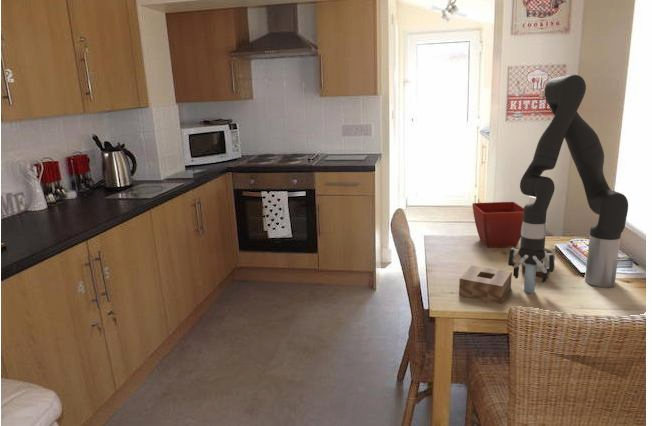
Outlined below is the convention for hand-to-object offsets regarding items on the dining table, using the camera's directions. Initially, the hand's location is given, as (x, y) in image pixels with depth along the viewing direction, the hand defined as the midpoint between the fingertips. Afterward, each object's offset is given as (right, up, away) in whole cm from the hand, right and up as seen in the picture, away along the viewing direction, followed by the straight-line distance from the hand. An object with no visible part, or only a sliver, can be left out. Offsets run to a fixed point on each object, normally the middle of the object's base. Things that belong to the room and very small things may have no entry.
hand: (529, 279), depth 162 cm
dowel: (0, -4, +1) cm, 4 cm away
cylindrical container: (+17, +5, +35) cm, 40 cm away
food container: (+9, 0, +15) cm, 18 cm away
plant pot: (+8, +9, +52) cm, 53 cm away
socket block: (-14, -4, +2) cm, 15 cm away
